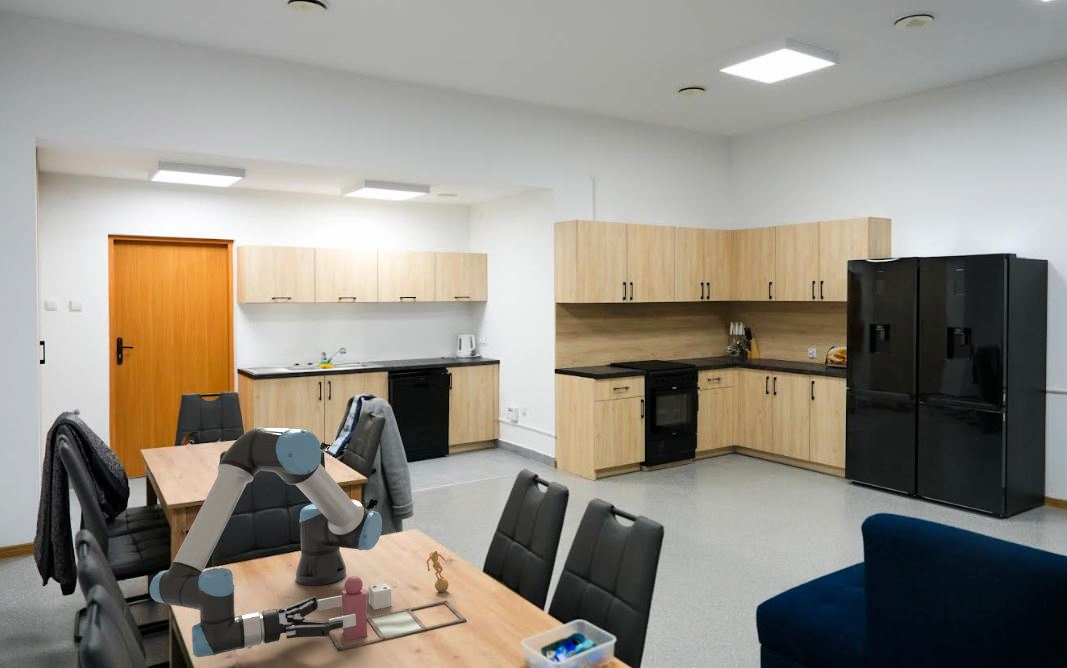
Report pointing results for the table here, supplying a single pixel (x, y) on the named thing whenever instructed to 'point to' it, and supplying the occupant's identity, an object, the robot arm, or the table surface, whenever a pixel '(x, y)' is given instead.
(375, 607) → the die
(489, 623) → the table surface
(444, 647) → the table surface
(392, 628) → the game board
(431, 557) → the figurine
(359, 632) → the pawn
